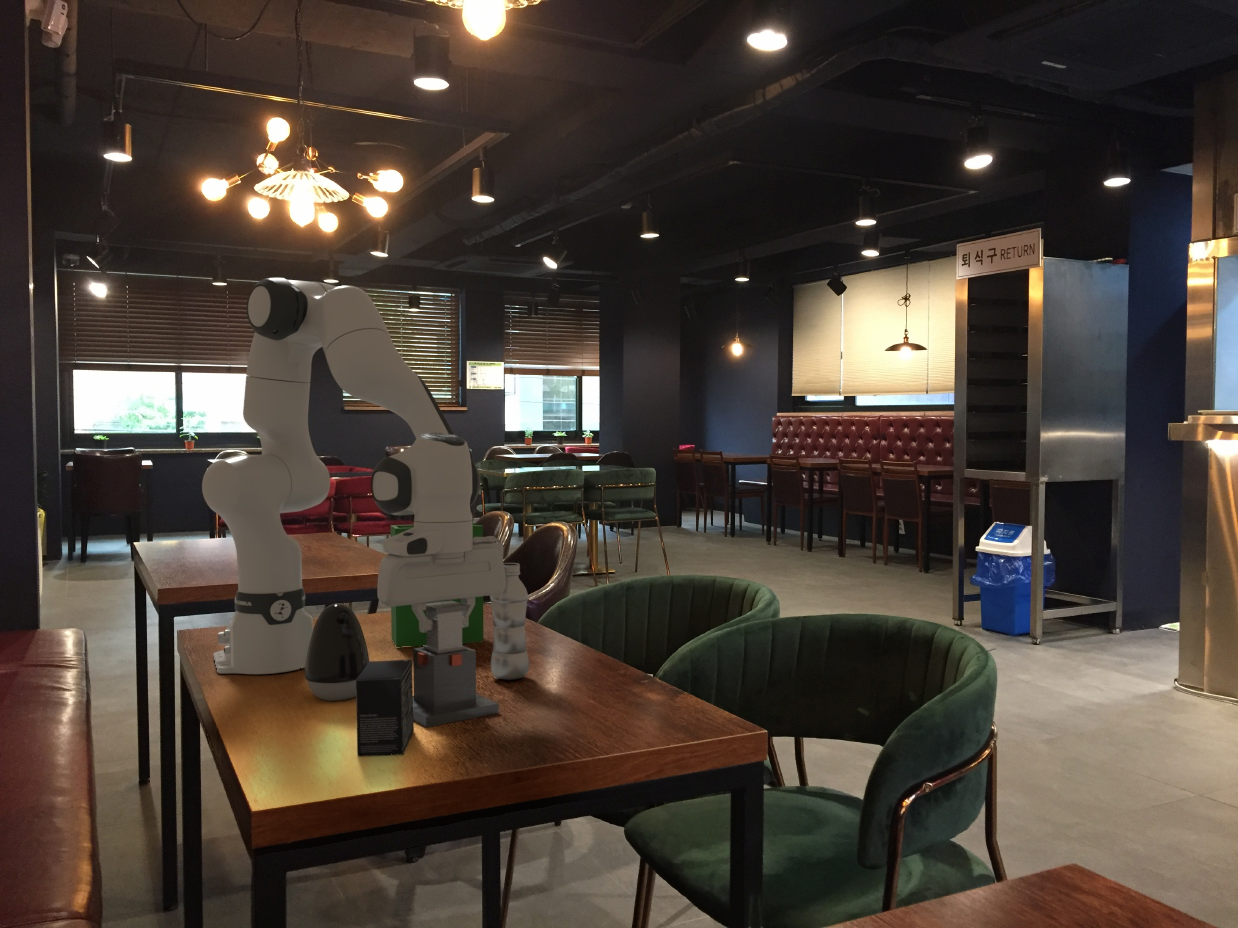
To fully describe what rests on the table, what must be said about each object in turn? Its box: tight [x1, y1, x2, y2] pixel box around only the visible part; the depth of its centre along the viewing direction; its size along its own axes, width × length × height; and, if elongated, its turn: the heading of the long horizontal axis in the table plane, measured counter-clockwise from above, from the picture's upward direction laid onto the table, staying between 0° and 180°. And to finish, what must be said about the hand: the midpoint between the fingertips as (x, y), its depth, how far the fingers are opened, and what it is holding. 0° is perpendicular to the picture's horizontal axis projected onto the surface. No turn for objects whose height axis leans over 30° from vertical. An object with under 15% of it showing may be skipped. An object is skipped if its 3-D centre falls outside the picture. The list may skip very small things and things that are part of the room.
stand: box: [412, 645, 500, 728], centre depth 147 cm, size 12×12×10 cm
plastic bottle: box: [489, 562, 530, 681], centre depth 167 cm, size 6×7×20 cm
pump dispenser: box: [304, 603, 371, 702], centre depth 156 cm, size 10×10×15 cm
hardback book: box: [390, 522, 485, 648], centre depth 198 cm, size 18×7×24 cm, turn 111°
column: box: [423, 601, 467, 655], centre depth 147 cm, size 5×5×15 cm
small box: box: [355, 659, 415, 757], centre depth 132 cm, size 11×6×10 cm, turn 5°
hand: (444, 629), depth 147 cm, fingers open, 5 cm apart
